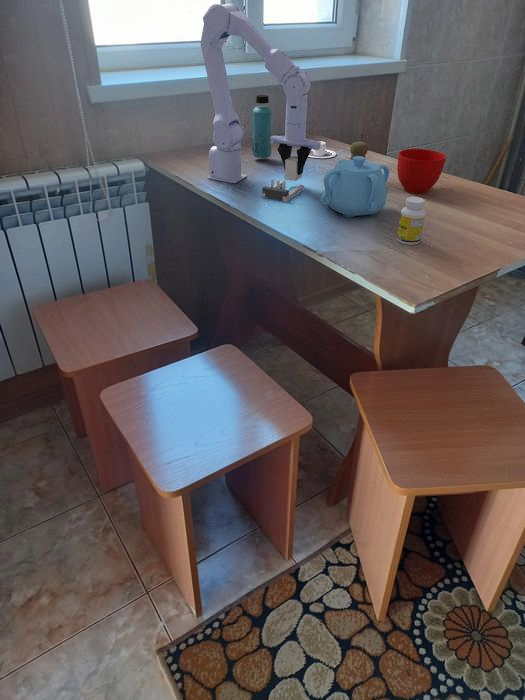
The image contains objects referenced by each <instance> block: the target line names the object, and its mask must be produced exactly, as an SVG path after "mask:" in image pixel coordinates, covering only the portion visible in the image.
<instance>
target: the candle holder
mask: <svg viewBox="0 0 525 700" xmlns="http://www.w3.org/2000/svg"><path fill="white" fill-rule="evenodd" d="M318 141H319V140H318ZM319 142H320V149H319V150H314V149H312V150H311V151H312V152H313V153H312V154H314V155H313V156H312V155H309V156H308V157H309V158H313V159H329V158H333V157H336V156H337V153H336V151H334V150H331V149H327V143H326V142H325V141H322V140H321V141H319ZM325 151H327V152H330V153H332V155H331V154H330V153H329V154H330V155H328V156H326V153H327V152H325ZM315 155H316V156H315ZM323 155H324V156H323Z"/></svg>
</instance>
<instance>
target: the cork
mask: <svg viewBox="0 0 525 700" xmlns="http://www.w3.org/2000/svg"><path fill="white" fill-rule="evenodd" d="M349 150H350V154H351V156H350V159H349V160H353V157H355V156H362V157H365V158H366V155H367V154H368V151H369V146H368V144H367V143H366V142H365V141H364V142H363V141H354V142H352V144H350V148H349Z"/></svg>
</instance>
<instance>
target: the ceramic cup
mask: <svg viewBox="0 0 525 700" xmlns="http://www.w3.org/2000/svg"><path fill="white" fill-rule="evenodd" d="M446 160H447V156H446V154H444V153H443V152H440V151H437V150H434V149H433V150H430V149H426V148H407V149H403V150H400V151H399V152H398V155H397V168H396V169H397V171H396V172H397V177H398V181H399V183H400V185H401V187H402V188H403V189H404V191H405V192H407V193H411V194H417V193H418V194H425V193H427V192H428V191H429V190H430V189H433V187H434V186H435V185H436V183H437V182H438V181H439V179H440V177H441V175H442V172H443V169H444V166H445V164H446ZM418 194H417V195H418Z"/></svg>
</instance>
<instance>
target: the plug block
mask: <svg viewBox="0 0 525 700" xmlns="http://www.w3.org/2000/svg"><path fill="white" fill-rule="evenodd" d="M297 168H298V157H297V155H291V157H289V158H288V159H286V160H285V171H284V180H285V181H286V180H287V181H291V182H296V181H298V180H299V179H302V177H303V173H302V174H300V175H298V173H297Z"/></svg>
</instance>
